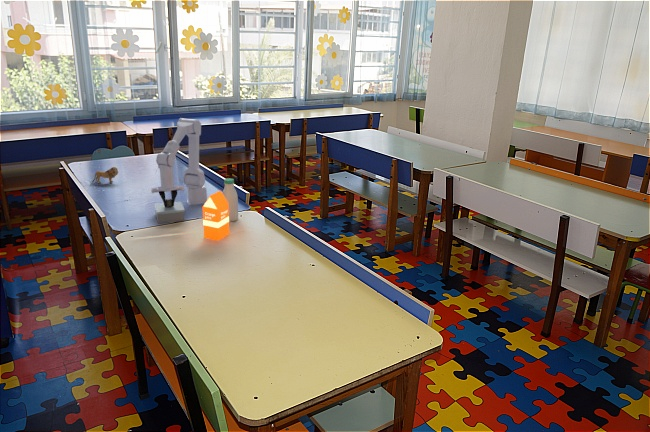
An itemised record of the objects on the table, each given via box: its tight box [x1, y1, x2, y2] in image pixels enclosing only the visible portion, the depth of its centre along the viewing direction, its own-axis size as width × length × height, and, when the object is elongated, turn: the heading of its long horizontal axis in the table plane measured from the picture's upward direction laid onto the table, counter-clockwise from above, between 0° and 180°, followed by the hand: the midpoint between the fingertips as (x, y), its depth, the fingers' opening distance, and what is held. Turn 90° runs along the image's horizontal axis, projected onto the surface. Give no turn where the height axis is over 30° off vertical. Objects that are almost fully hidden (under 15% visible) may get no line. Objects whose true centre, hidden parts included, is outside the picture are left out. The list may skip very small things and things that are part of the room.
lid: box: [153, 198, 186, 215], centre depth 237 cm, size 13×13×5 cm
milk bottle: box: [221, 177, 239, 223], centre depth 238 cm, size 8×8×20 cm
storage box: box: [154, 209, 186, 224], centre depth 239 cm, size 12×12×5 cm
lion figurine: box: [91, 166, 119, 184], centre depth 285 cm, size 15×5×9 cm, turn 103°
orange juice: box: [202, 189, 230, 242], centre depth 219 cm, size 8×9×20 cm
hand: (169, 205), depth 237 cm, fingers closed on lid, 3 cm apart
